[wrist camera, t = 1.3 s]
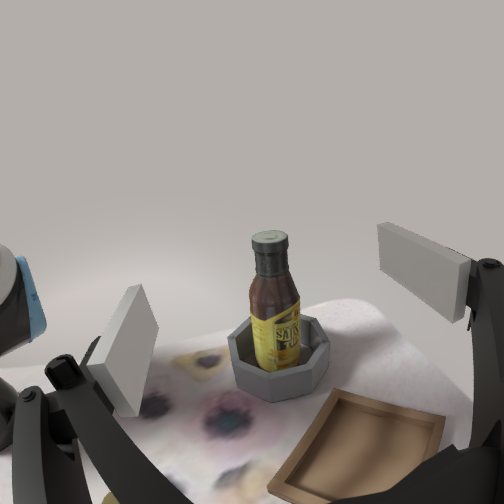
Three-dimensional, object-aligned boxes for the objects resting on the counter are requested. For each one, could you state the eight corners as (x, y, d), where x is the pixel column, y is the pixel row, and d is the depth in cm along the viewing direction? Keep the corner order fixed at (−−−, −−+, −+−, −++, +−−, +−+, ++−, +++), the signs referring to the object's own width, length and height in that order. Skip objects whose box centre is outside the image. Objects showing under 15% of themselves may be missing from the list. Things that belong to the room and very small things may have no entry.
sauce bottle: (285, 388, 36) (274, 254, 28) (248, 371, 40) (226, 243, 32) (309, 358, 41) (307, 230, 32) (274, 345, 44) (261, 223, 36)
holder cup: (216, 377, 39) (209, 353, 37) (266, 327, 49) (263, 303, 47) (297, 413, 32) (296, 390, 30) (338, 349, 41) (340, 324, 39)
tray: (268, 492, 22) (266, 486, 21) (332, 399, 33) (334, 387, 32) (398, 537, 14) (405, 533, 13) (439, 427, 25) (446, 416, 24)
